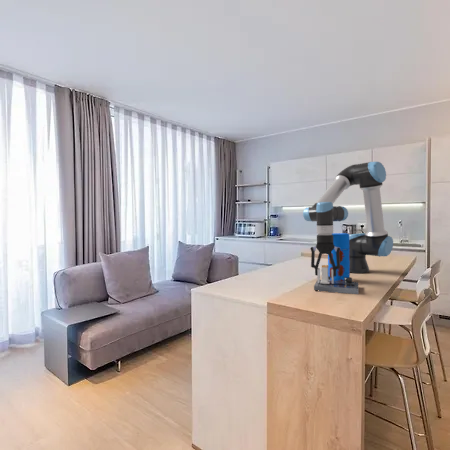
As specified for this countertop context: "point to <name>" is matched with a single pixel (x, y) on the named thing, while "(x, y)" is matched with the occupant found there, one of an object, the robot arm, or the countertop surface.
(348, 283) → the console
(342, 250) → the thermos
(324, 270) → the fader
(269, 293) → the countertop surface
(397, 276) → the countertop surface
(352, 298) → the countertop surface
